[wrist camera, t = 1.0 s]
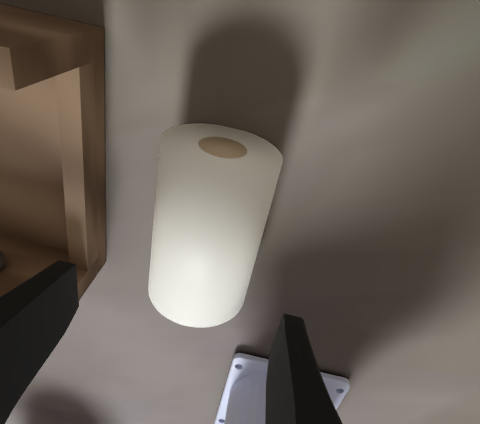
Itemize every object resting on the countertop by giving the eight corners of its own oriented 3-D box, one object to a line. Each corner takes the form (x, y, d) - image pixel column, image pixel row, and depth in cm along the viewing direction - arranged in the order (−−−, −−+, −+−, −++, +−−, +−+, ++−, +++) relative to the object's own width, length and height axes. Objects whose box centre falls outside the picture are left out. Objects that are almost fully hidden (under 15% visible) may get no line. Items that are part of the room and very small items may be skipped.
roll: (249, 268, 21) (238, 338, 17) (165, 248, 21) (133, 313, 17) (284, 139, 17) (281, 189, 13) (179, 114, 17) (141, 157, 13)
